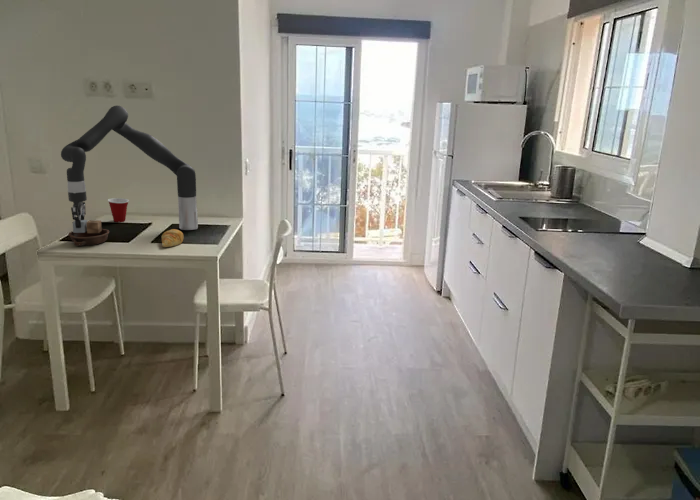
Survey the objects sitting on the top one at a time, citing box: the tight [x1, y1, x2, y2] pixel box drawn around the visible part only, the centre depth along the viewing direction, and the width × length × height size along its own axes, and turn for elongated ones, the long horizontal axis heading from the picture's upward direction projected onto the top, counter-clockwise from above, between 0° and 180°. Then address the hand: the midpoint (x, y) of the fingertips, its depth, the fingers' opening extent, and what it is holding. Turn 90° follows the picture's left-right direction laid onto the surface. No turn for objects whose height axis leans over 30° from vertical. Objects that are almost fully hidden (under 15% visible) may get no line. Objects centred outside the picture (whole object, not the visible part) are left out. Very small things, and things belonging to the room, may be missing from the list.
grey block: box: [72, 219, 88, 233], centre depth 260 cm, size 5×5×5 cm
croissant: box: [161, 228, 184, 248], centre depth 265 cm, size 21×10×8 cm, turn 177°
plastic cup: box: [107, 197, 130, 223], centre depth 303 cm, size 11×11×12 cm
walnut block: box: [86, 219, 103, 233], centre depth 261 cm, size 5×5×5 cm
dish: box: [68, 228, 110, 247], centre depth 262 cm, size 18×22×5 cm
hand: (80, 226), depth 260 cm, fingers open, 5 cm apart
